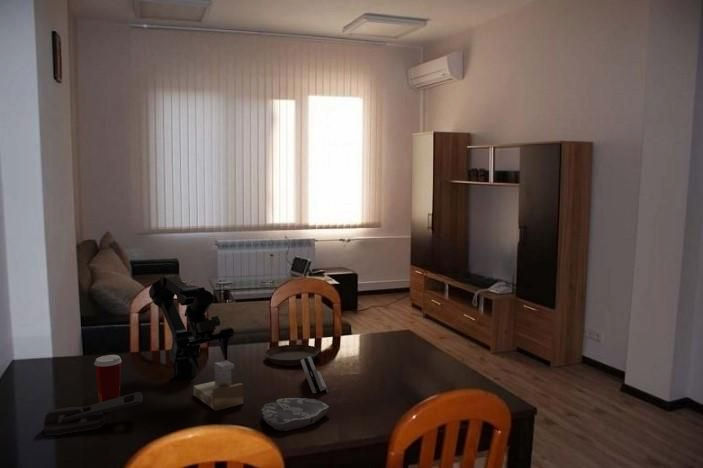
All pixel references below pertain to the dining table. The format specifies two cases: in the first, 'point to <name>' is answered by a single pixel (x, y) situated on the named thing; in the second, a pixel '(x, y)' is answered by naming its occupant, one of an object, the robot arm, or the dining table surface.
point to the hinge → (316, 376)
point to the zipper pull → (85, 415)
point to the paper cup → (108, 377)
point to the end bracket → (223, 374)
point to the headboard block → (219, 395)
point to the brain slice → (293, 413)
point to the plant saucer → (291, 354)
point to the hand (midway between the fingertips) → (212, 364)
